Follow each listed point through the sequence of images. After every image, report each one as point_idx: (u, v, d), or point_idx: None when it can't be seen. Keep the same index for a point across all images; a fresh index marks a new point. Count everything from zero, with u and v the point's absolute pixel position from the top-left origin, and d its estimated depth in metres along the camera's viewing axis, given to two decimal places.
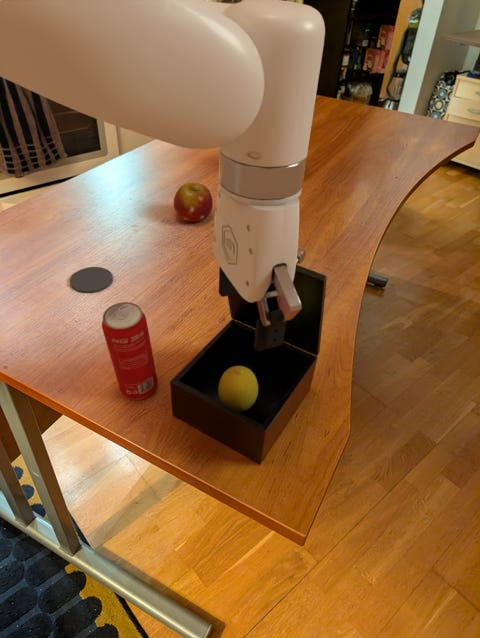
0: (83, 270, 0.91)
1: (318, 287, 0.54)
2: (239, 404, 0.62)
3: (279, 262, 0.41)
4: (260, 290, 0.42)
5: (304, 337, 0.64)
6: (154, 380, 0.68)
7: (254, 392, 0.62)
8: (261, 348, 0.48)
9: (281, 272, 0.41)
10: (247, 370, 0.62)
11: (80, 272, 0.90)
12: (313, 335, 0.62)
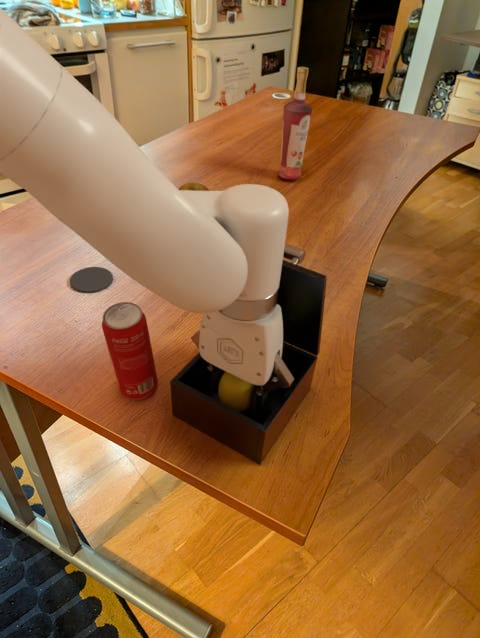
0: (83, 270, 0.91)
1: (318, 287, 0.54)
2: (239, 404, 0.62)
3: (277, 351, 0.55)
4: (269, 375, 0.56)
5: (304, 337, 0.64)
6: (154, 380, 0.68)
7: None
8: (255, 409, 0.63)
9: (278, 360, 0.56)
10: None
11: (80, 272, 0.90)
12: (313, 335, 0.62)
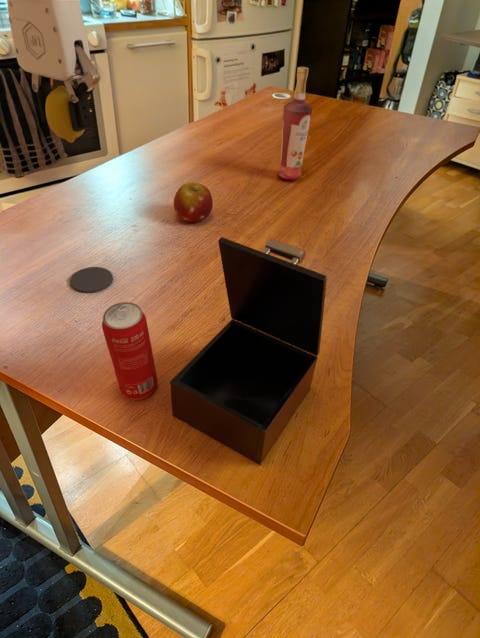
0: (83, 270, 0.91)
1: (318, 287, 0.54)
2: (61, 120, 0.65)
3: (77, 38, 0.59)
4: (71, 64, 0.60)
5: (304, 337, 0.64)
6: (154, 380, 0.68)
7: None
8: (78, 129, 0.66)
9: (80, 52, 0.60)
10: None
11: (80, 272, 0.90)
12: (313, 335, 0.62)
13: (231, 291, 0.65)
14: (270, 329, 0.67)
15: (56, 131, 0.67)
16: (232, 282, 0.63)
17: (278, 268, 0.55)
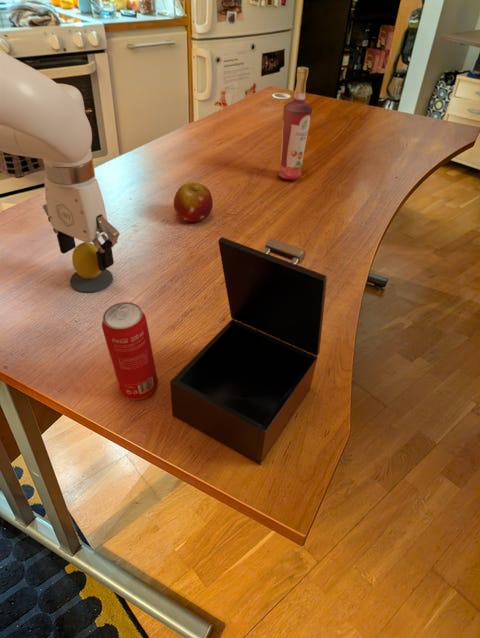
0: None
1: (318, 287, 0.54)
2: (85, 269, 0.84)
3: (98, 214, 0.77)
4: (93, 233, 0.78)
5: (304, 337, 0.64)
6: (154, 380, 0.68)
7: (96, 260, 0.84)
8: (103, 268, 0.83)
9: (101, 219, 0.77)
10: (91, 244, 0.85)
11: None
12: (313, 335, 0.62)
13: (231, 291, 0.65)
14: (270, 329, 0.67)
15: (80, 275, 0.86)
16: (232, 282, 0.63)
17: (278, 268, 0.55)
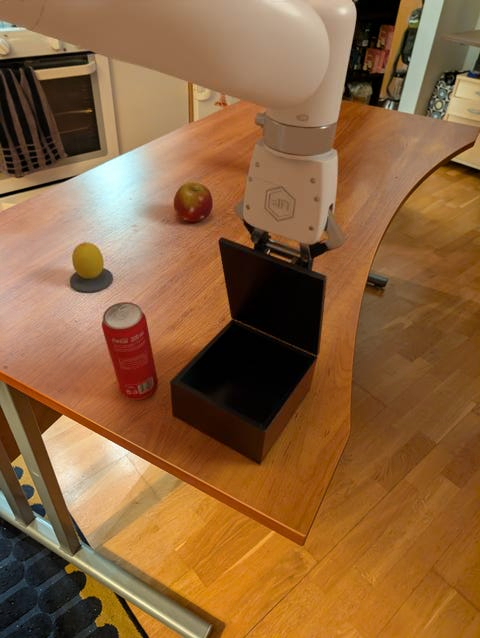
0: None
1: (318, 287, 0.54)
2: (85, 269, 0.84)
3: (331, 203, 0.51)
4: (321, 230, 0.52)
5: (304, 337, 0.64)
6: (154, 380, 0.68)
7: (96, 260, 0.84)
8: None
9: (330, 215, 0.52)
10: (91, 244, 0.85)
11: None
12: (313, 335, 0.62)
13: (231, 291, 0.65)
14: (270, 329, 0.67)
15: (80, 275, 0.86)
16: (232, 282, 0.63)
17: (278, 268, 0.55)
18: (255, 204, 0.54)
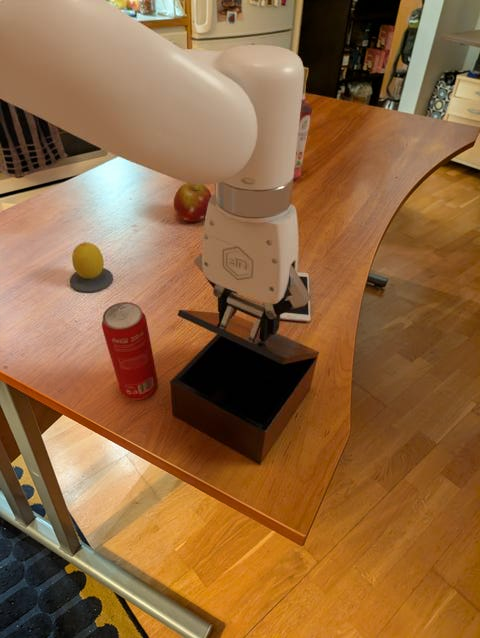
0: None
1: None
2: (85, 269, 0.84)
3: (292, 261, 0.48)
4: (283, 290, 0.49)
5: None
6: (154, 380, 0.68)
7: (96, 260, 0.84)
8: (266, 338, 0.56)
9: (293, 273, 0.49)
10: (91, 244, 0.85)
11: None
12: None
13: None
14: None
15: (80, 275, 0.86)
16: None
17: None
18: (213, 262, 0.50)
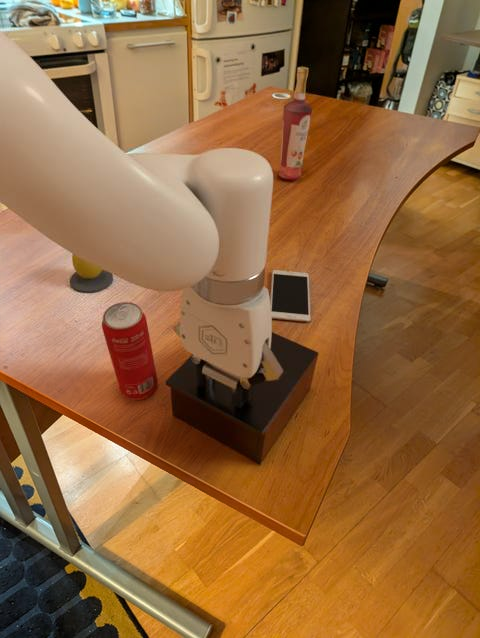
0: None
1: None
2: (85, 269, 0.84)
3: (265, 339, 0.50)
4: (256, 366, 0.50)
5: None
6: (154, 380, 0.68)
7: None
8: (242, 404, 0.57)
9: (266, 350, 0.51)
10: None
11: None
12: None
13: None
14: None
15: (80, 275, 0.86)
16: None
17: None
18: (190, 335, 0.52)
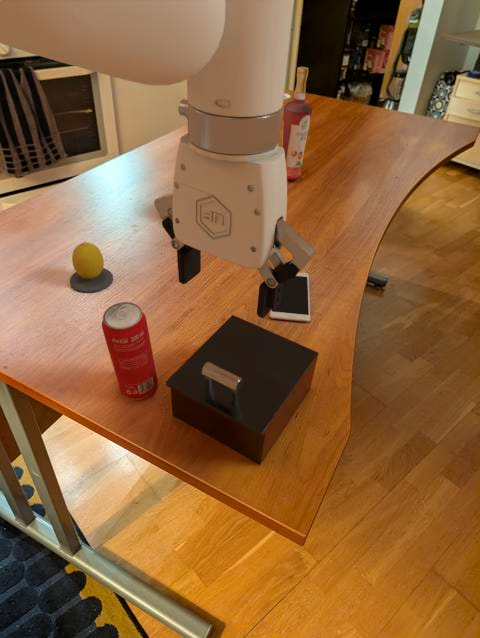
0: None
1: None
2: (85, 269, 0.84)
3: (279, 216, 0.40)
4: (267, 251, 0.40)
5: None
6: (154, 380, 0.68)
7: (96, 260, 0.84)
8: (265, 314, 0.46)
9: (283, 226, 0.40)
10: (91, 244, 0.85)
11: None
12: None
13: None
14: None
15: (80, 275, 0.86)
16: None
17: None
18: (185, 217, 0.42)
